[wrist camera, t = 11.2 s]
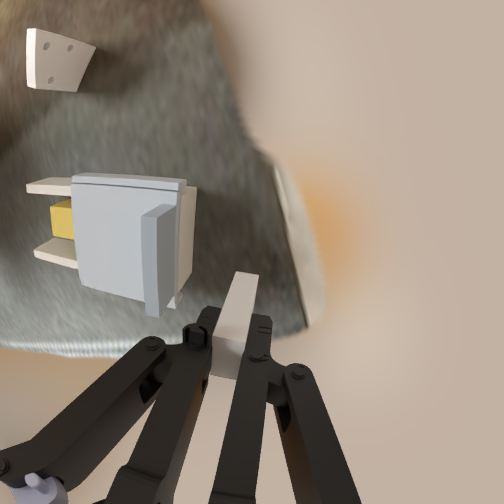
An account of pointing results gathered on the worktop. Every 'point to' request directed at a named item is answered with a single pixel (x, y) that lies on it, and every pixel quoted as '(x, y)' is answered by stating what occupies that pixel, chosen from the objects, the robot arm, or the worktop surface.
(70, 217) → the mustard yellow cuboid
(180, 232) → the long white channel rail
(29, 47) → the white angled block
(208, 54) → the worktop surface
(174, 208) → the cover
